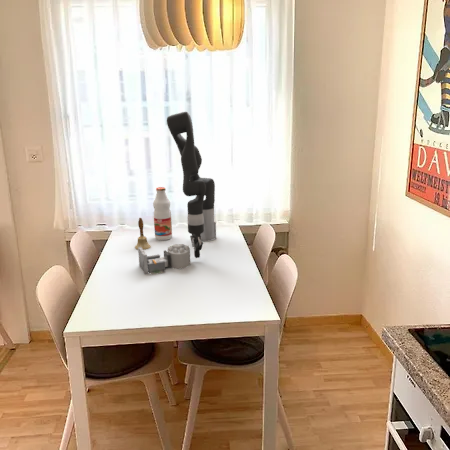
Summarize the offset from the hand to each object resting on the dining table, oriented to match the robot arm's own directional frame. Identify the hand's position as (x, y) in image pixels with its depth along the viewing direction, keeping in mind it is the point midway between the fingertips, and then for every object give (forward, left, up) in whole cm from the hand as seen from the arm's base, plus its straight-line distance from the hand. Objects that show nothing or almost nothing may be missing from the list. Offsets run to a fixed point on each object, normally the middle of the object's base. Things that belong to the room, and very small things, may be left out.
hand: (197, 257), depth 236 cm
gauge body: (+22, +1, -2) cm, 22 cm away
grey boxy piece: (+19, +2, -1) cm, 19 cm away
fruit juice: (+6, -42, -2) cm, 42 cm away
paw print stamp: (+9, 0, -2) cm, 9 cm away
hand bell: (+20, -31, -2) cm, 37 cm away
